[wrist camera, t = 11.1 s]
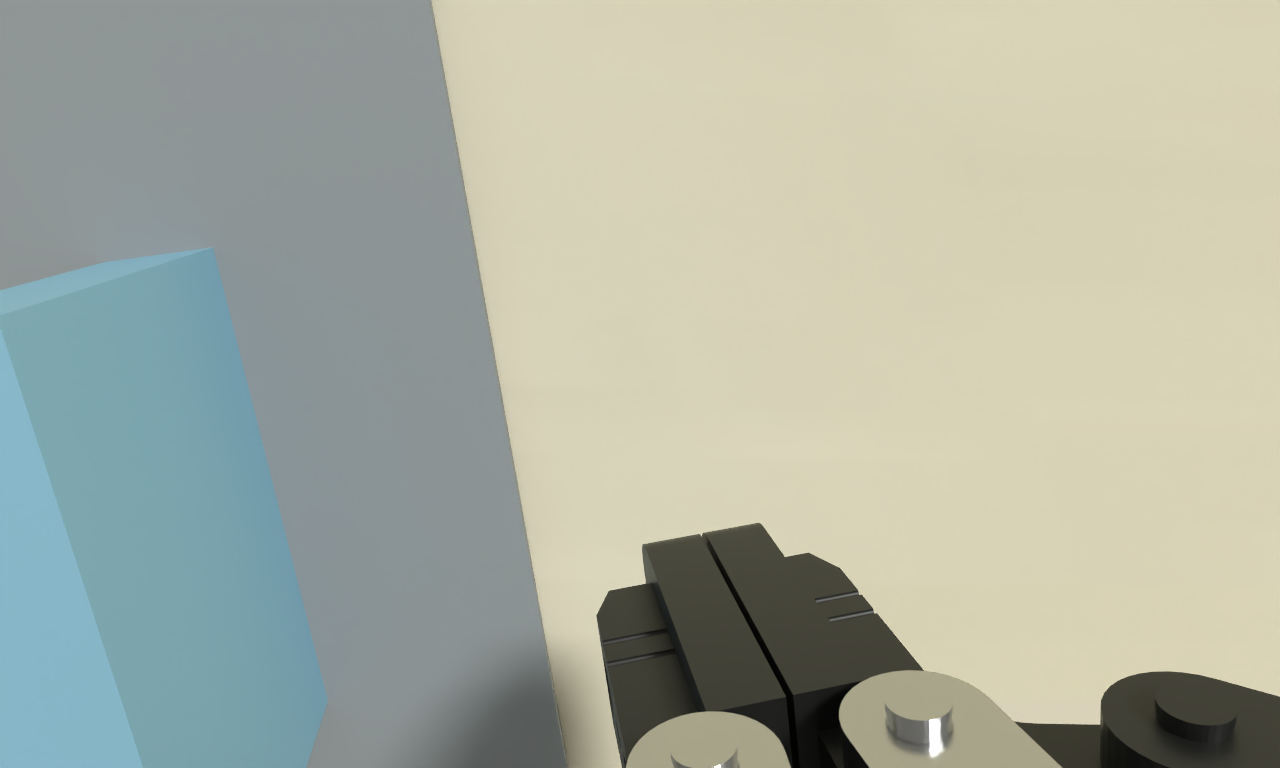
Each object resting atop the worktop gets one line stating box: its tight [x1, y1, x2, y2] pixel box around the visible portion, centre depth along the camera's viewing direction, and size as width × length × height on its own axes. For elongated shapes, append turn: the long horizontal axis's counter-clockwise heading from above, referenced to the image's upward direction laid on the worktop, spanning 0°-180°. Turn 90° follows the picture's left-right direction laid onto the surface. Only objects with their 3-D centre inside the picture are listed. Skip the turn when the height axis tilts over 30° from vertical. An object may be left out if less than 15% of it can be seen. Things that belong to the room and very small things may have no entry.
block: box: [0, 247, 328, 768], centre depth 12 cm, size 2×8×6 cm, turn 8°
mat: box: [0, 0, 568, 768], centre depth 15 cm, size 15×19×1 cm
